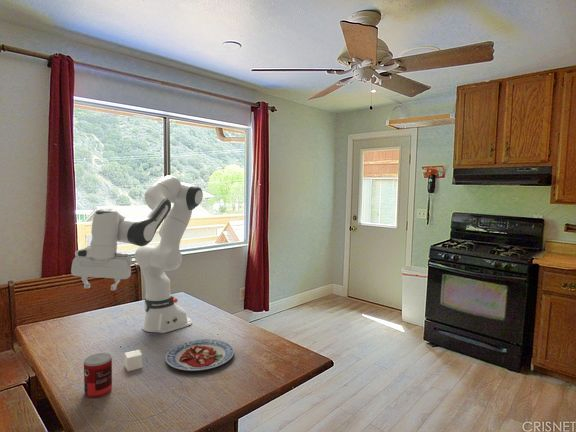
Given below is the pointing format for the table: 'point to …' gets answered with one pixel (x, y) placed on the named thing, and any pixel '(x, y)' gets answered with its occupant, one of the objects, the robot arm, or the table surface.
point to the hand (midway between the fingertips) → (100, 289)
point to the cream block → (133, 360)
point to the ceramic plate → (199, 354)
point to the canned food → (97, 375)
